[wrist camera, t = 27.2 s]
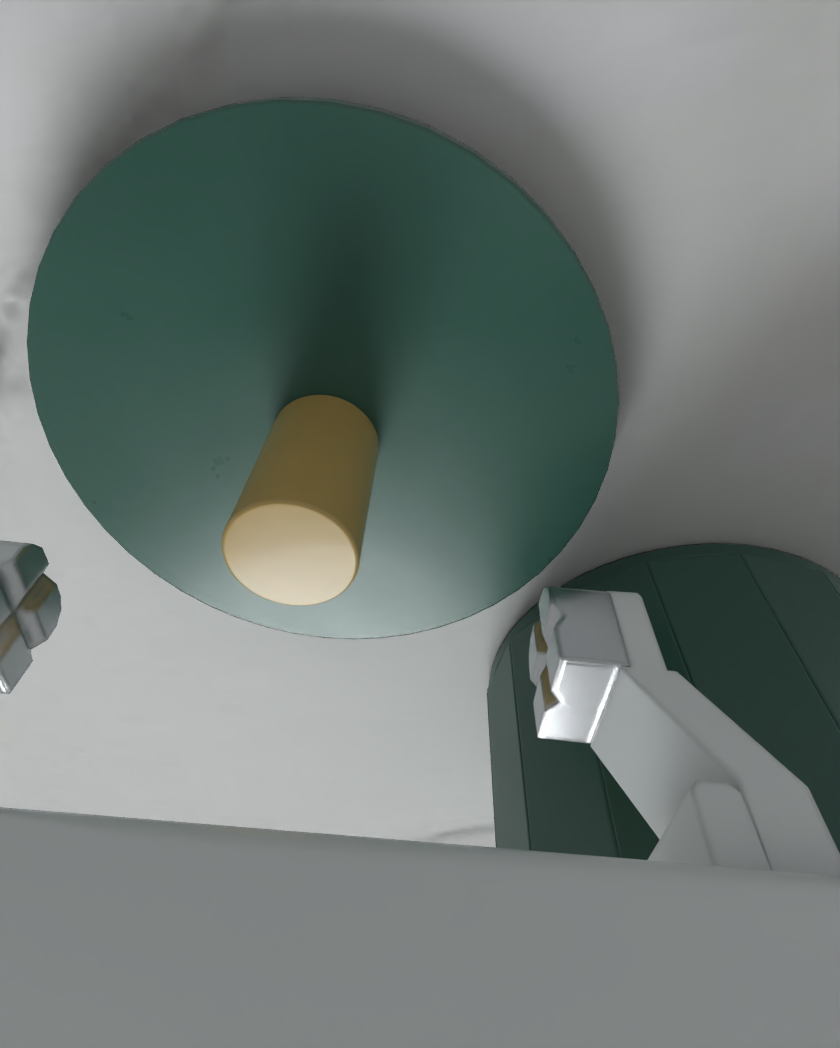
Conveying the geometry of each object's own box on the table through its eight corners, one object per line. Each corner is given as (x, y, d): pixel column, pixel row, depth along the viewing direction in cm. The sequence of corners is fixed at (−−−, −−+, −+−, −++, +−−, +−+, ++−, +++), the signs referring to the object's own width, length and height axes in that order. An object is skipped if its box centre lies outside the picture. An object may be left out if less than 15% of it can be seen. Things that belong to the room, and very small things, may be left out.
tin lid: (81, 563, 18) (-27, 715, 14) (12, 2, 11) (-265, -24, 7) (509, 643, 20) (524, 804, 16) (714, 196, 12) (854, 275, 8)
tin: (449, 758, 23) (449, 1049, 17) (563, 503, 16) (642, 825, 10) (744, 806, 25) (856, 1095, 18) (967, 589, 18) (1290, 928, 11)
